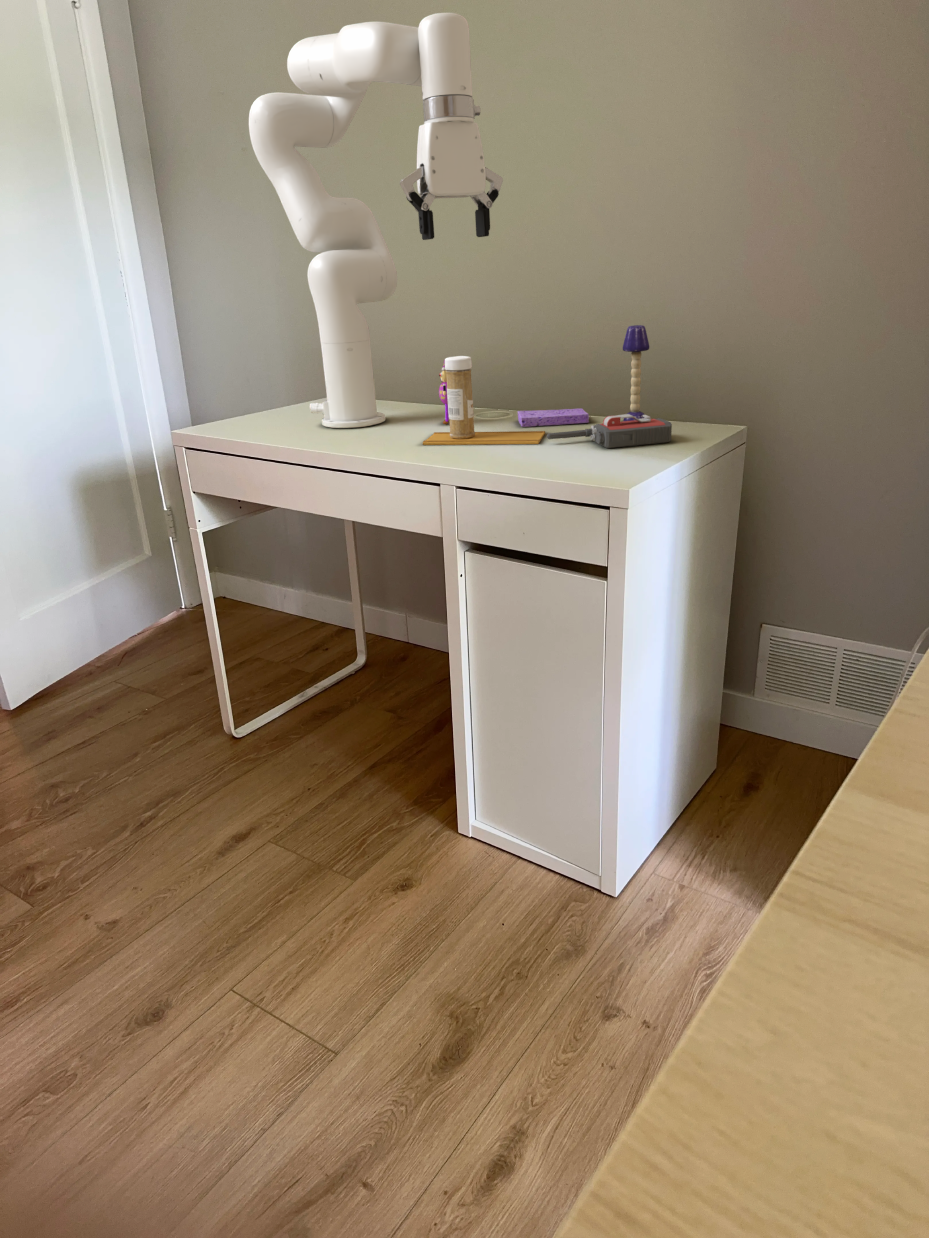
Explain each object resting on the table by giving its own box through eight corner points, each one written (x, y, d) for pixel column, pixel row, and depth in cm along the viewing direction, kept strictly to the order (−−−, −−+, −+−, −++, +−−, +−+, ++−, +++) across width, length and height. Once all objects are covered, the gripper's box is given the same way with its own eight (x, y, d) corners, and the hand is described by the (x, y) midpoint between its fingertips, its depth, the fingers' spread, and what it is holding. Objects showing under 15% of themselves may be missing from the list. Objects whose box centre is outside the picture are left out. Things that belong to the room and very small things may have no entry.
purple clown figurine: (442, 418, 169) (438, 356, 164) (458, 418, 169) (454, 355, 164) (439, 429, 158) (435, 362, 154) (456, 428, 158) (452, 361, 154)
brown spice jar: (480, 436, 148) (476, 356, 143) (458, 440, 146) (453, 359, 140) (465, 433, 152) (461, 354, 146) (444, 437, 149) (439, 357, 144)
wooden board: (422, 445, 146) (422, 442, 146) (435, 434, 154) (435, 431, 154) (538, 444, 142) (538, 441, 142) (545, 433, 150) (545, 430, 150)
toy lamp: (649, 423, 153) (652, 326, 146) (623, 425, 153) (625, 327, 146) (644, 419, 157) (647, 324, 151) (619, 420, 157) (620, 325, 151)
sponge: (517, 420, 162) (517, 410, 162) (583, 417, 162) (583, 407, 162) (520, 427, 156) (520, 417, 155) (589, 423, 156) (589, 413, 155)
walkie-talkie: (657, 432, 145) (545, 443, 142) (658, 406, 143) (544, 416, 140) (680, 442, 137) (561, 454, 134) (681, 414, 135) (560, 425, 132)
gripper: (487, 119, 135) (492, 237, 141) (386, 118, 128) (396, 242, 135) (510, 110, 129) (514, 234, 135) (405, 108, 122) (415, 239, 128)
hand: (455, 238), depth 135 cm, fingers open, 9 cm apart
